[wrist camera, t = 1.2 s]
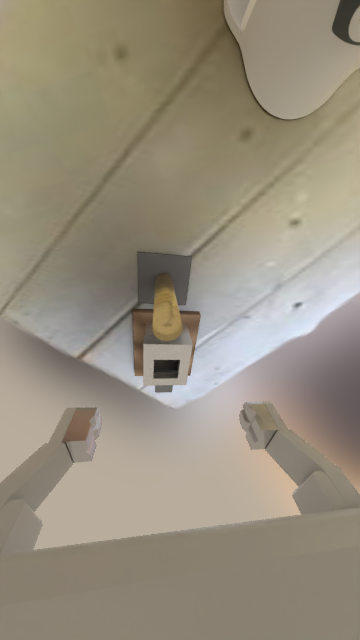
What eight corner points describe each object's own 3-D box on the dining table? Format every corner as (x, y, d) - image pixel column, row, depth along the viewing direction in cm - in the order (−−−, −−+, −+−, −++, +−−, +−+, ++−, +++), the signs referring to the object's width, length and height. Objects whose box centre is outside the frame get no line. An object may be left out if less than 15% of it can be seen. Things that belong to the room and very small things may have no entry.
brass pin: (155, 272, 30) (152, 314, 16) (172, 273, 31) (184, 315, 17) (155, 288, 32) (151, 340, 18) (171, 289, 32) (180, 341, 18)
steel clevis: (146, 322, 34) (143, 344, 28) (186, 323, 35) (192, 344, 29) (145, 374, 40) (143, 401, 34) (180, 374, 41) (183, 400, 35)
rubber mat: (138, 251, 29) (137, 252, 28) (191, 256, 30) (191, 257, 30) (138, 301, 33) (138, 303, 33) (185, 304, 34) (185, 305, 34)
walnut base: (133, 308, 34) (132, 312, 32) (199, 311, 35) (200, 315, 34) (135, 371, 42) (134, 375, 40) (189, 370, 43) (190, 375, 42)
